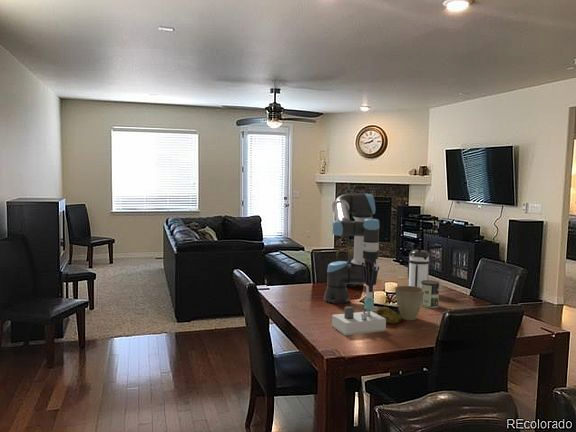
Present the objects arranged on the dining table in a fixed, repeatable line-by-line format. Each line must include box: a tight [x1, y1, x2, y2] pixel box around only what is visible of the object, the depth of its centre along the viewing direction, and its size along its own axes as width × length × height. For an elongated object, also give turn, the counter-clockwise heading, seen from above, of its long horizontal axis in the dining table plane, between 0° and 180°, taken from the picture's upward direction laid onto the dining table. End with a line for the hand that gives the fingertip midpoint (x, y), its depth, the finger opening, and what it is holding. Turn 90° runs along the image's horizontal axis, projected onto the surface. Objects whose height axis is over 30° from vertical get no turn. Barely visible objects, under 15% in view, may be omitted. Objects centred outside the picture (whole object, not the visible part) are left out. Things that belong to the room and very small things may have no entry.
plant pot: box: [394, 285, 424, 321], centre depth 254 cm, size 15×15×16 cm
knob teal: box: [363, 297, 375, 317], centre depth 237 cm, size 4×4×10 cm
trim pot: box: [361, 311, 367, 321], centre depth 231 cm, size 3×3×4 cm
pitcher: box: [335, 241, 358, 287], centre depth 331 cm, size 11×19×30 cm, turn 63°
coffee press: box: [407, 246, 431, 288], centre depth 315 cm, size 17×16×30 cm
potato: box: [376, 306, 403, 325], centre depth 247 cm, size 8×13×8 cm, turn 75°
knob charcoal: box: [343, 306, 355, 319], centre depth 234 cm, size 4×4×10 cm
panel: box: [331, 310, 387, 336], centre depth 236 cm, size 14×22×6 cm, turn 111°
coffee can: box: [421, 279, 440, 309], centre depth 281 cm, size 10×10×14 cm
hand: (369, 298), depth 237 cm, fingers closed
